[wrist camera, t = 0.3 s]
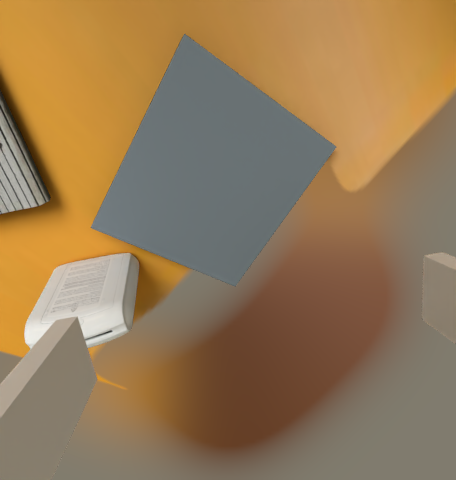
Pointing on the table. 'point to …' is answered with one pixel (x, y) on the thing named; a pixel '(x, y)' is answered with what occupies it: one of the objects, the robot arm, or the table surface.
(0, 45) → the table surface
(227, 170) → the slate board
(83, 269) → the photo printer
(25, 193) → the mat
